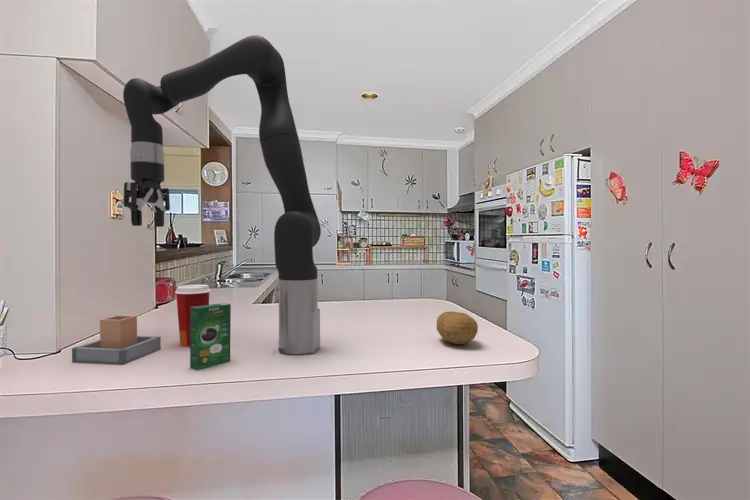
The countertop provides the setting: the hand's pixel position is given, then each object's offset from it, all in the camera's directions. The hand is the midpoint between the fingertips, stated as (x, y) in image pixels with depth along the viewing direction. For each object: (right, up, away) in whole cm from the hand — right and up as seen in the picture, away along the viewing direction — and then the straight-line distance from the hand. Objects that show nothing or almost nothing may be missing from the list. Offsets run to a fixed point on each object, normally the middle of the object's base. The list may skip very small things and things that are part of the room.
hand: (148, 226), depth 105 cm
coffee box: (+24, -31, -19) cm, 43 cm away
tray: (0, -30, -12) cm, 33 cm away
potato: (+79, -30, +1) cm, 84 cm away
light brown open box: (0, -29, -12) cm, 32 cm away
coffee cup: (+12, -30, -2) cm, 33 cm away
